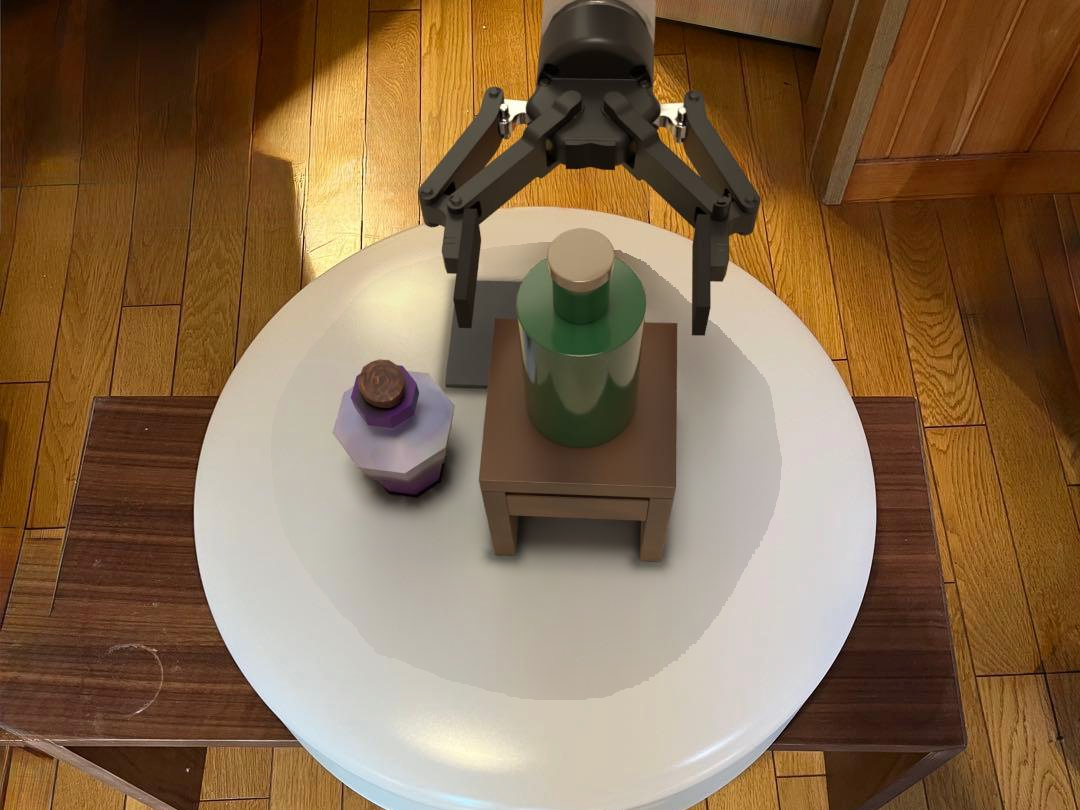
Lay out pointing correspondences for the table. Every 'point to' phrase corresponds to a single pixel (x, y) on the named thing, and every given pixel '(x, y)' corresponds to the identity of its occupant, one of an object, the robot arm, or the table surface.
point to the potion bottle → (396, 427)
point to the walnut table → (580, 451)
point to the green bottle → (581, 340)
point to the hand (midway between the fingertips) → (580, 318)
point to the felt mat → (479, 334)
